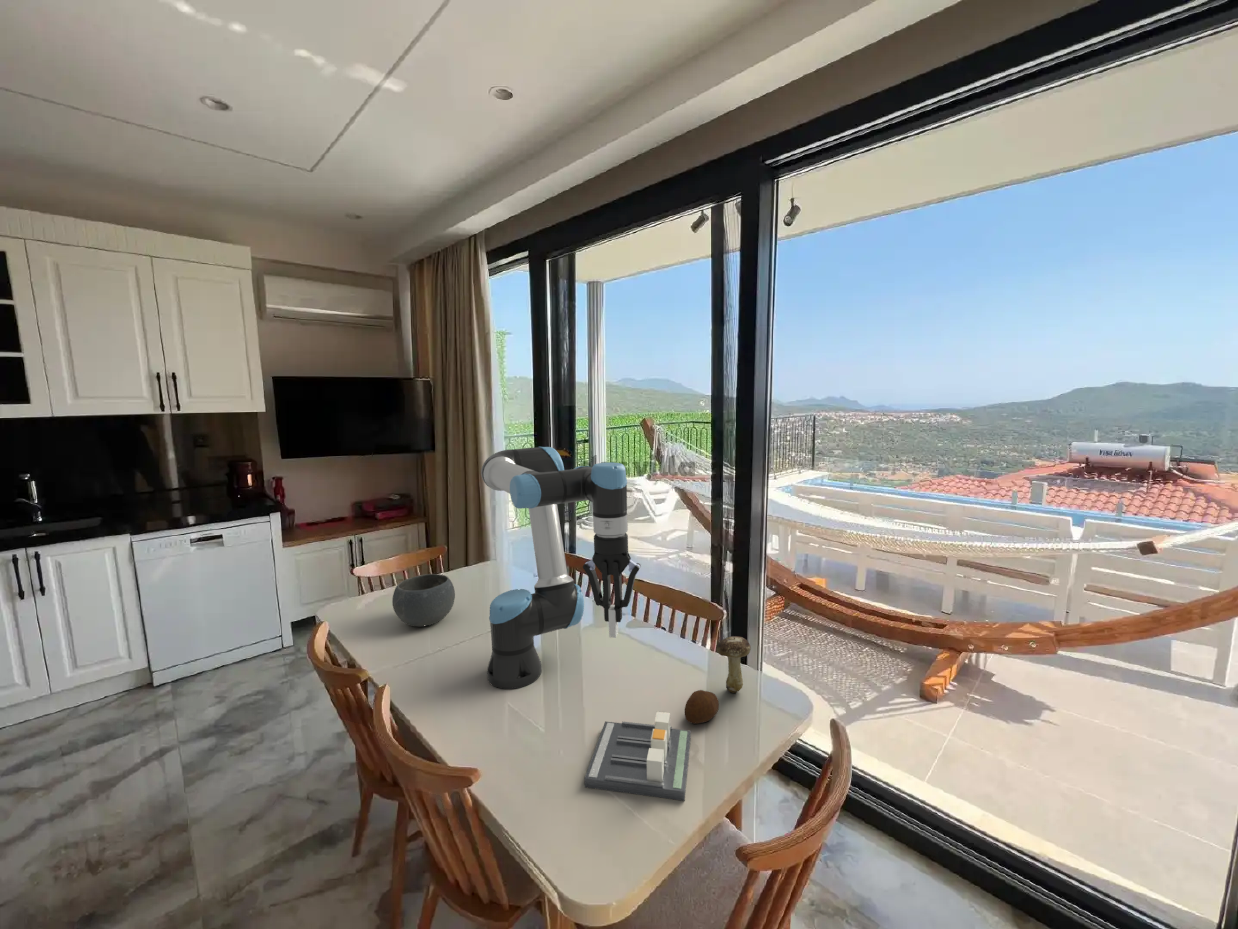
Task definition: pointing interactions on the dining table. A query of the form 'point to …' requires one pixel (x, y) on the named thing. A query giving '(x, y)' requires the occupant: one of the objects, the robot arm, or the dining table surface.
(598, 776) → the panel
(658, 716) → the block
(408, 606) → the bowl
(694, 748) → the dining table surface
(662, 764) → the breaker
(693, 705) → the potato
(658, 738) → the block
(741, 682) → the mushroom
